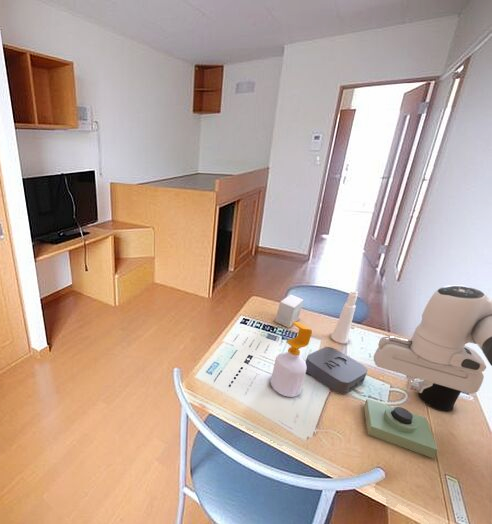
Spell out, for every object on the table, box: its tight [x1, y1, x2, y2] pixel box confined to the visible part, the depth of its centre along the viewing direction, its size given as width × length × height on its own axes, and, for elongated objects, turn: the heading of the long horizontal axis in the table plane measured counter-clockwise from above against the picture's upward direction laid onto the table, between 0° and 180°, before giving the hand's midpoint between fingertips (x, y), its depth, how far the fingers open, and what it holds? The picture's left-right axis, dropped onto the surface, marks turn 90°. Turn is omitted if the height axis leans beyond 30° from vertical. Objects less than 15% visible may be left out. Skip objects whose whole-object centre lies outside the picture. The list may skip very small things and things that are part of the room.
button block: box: [363, 398, 439, 459], centre depth 85 cm, size 14×11×5 cm
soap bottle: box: [270, 321, 313, 398], centre depth 95 cm, size 9×9×25 cm
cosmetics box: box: [274, 294, 304, 329], centre depth 134 cm, size 10×6×10 cm, turn 132°
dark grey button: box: [392, 406, 413, 424], centre depth 84 cm, size 4×4×2 cm
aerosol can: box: [417, 383, 462, 412], centre depth 92 cm, size 8×8×20 cm
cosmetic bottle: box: [330, 289, 359, 344], centre depth 120 cm, size 6×6×22 cm
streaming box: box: [305, 346, 368, 395], centre depth 104 cm, size 14×14×5 cm
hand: (413, 389), depth 80 cm, fingers closed
